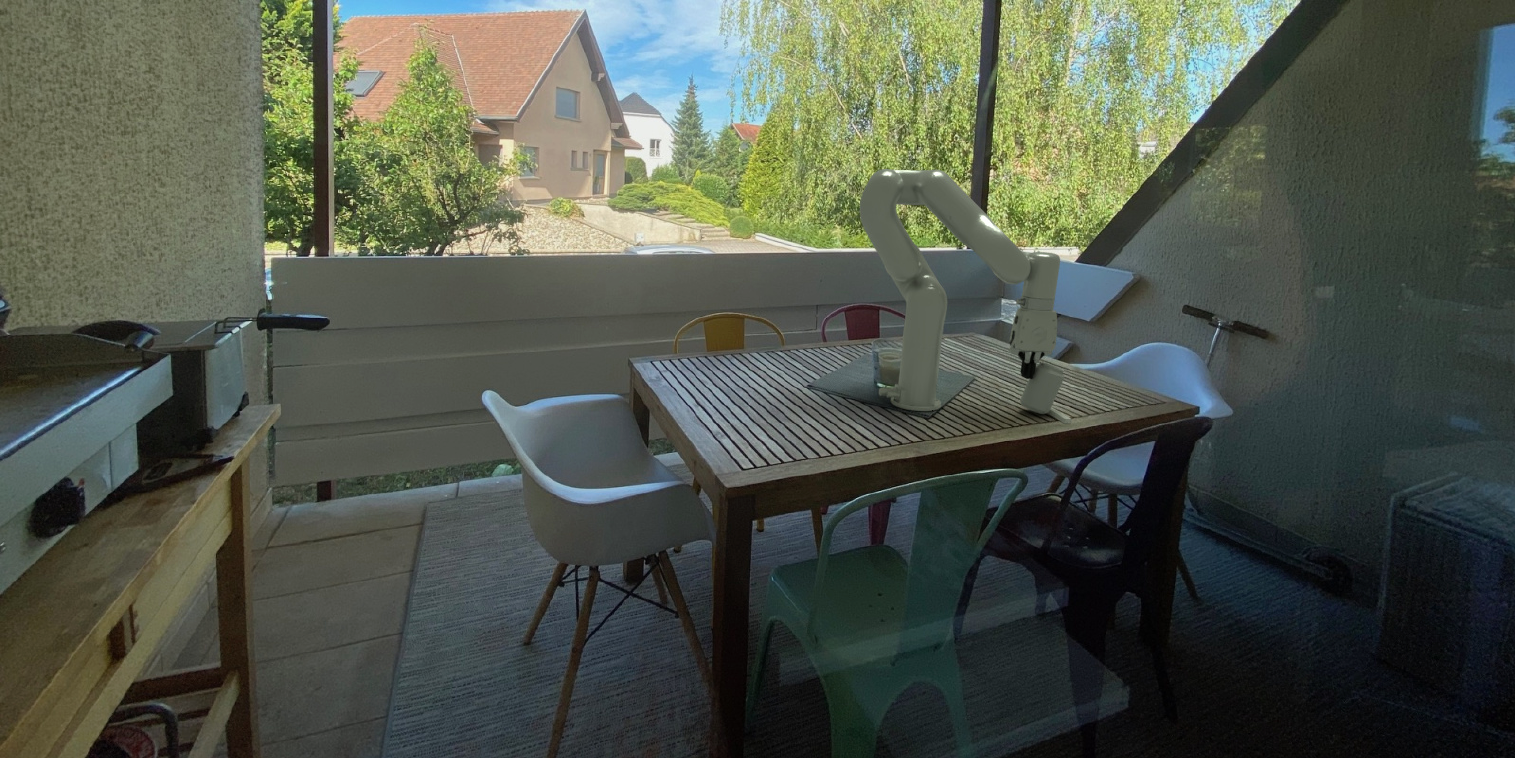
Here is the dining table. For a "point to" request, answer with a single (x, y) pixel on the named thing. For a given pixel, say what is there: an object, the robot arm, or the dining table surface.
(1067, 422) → the stop strip
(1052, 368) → the can
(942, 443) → the dining table surface
